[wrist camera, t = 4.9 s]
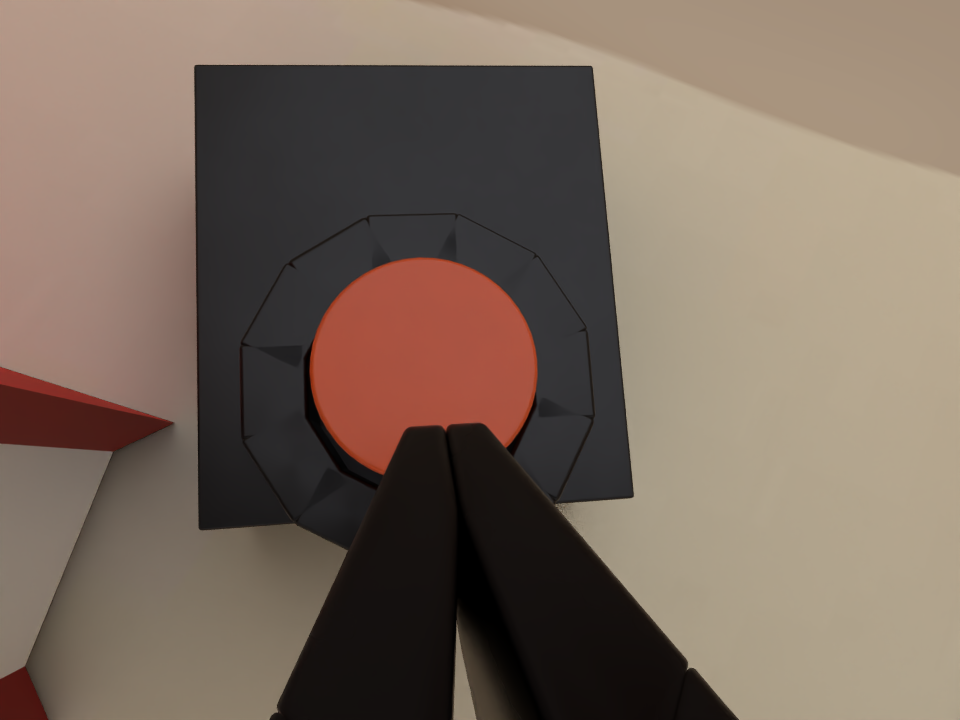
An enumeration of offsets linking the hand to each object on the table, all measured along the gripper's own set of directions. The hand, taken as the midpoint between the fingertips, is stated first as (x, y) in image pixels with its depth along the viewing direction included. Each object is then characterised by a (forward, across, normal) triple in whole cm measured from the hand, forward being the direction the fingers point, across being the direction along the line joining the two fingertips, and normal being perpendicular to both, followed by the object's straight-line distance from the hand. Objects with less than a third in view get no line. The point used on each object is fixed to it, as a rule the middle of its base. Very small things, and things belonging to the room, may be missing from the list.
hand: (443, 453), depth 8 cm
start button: (+5, 0, +3) cm, 6 cm away
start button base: (+11, 0, +6) cm, 13 cm away
